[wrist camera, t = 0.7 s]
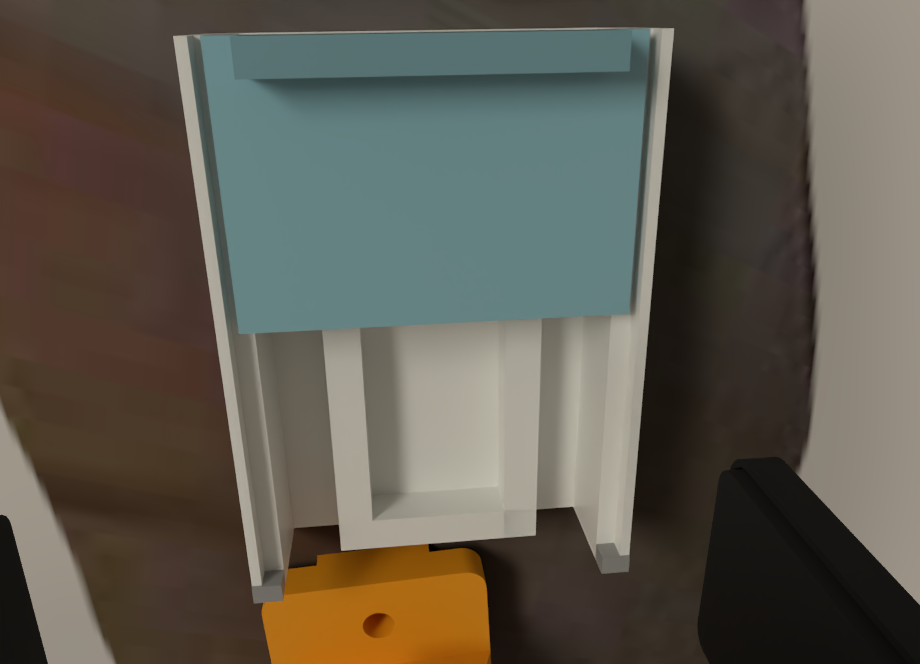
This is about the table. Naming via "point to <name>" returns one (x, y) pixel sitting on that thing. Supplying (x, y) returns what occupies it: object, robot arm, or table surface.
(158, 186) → the table surface
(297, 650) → the bracket
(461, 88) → the lid
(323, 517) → the housing
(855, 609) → the robot arm
